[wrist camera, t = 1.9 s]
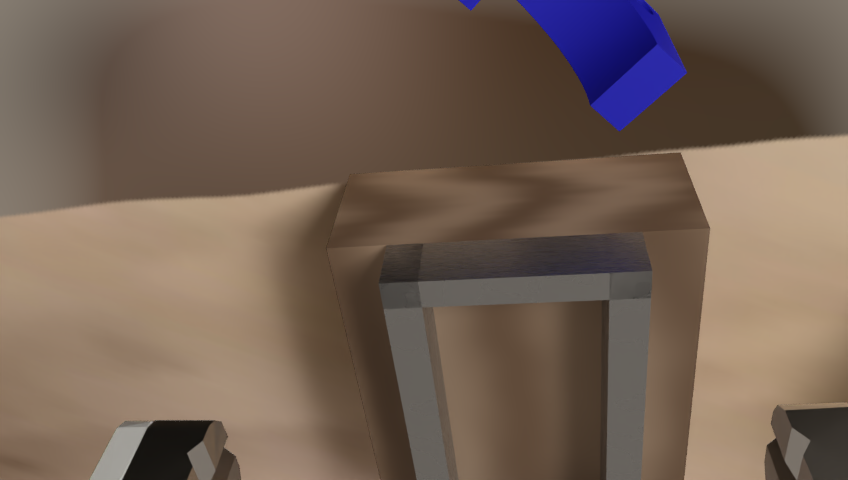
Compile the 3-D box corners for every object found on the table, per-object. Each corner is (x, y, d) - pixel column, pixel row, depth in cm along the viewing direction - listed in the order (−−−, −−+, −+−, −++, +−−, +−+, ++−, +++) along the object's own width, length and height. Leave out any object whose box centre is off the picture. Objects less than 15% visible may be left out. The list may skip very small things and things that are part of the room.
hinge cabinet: (680, 152, 34) (725, 267, 27) (661, 417, 44) (690, 553, 37) (350, 174, 36) (313, 286, 29) (400, 423, 46) (381, 552, 39)
